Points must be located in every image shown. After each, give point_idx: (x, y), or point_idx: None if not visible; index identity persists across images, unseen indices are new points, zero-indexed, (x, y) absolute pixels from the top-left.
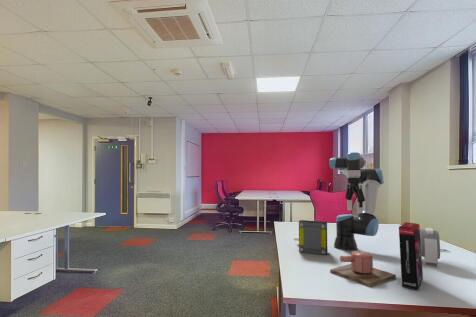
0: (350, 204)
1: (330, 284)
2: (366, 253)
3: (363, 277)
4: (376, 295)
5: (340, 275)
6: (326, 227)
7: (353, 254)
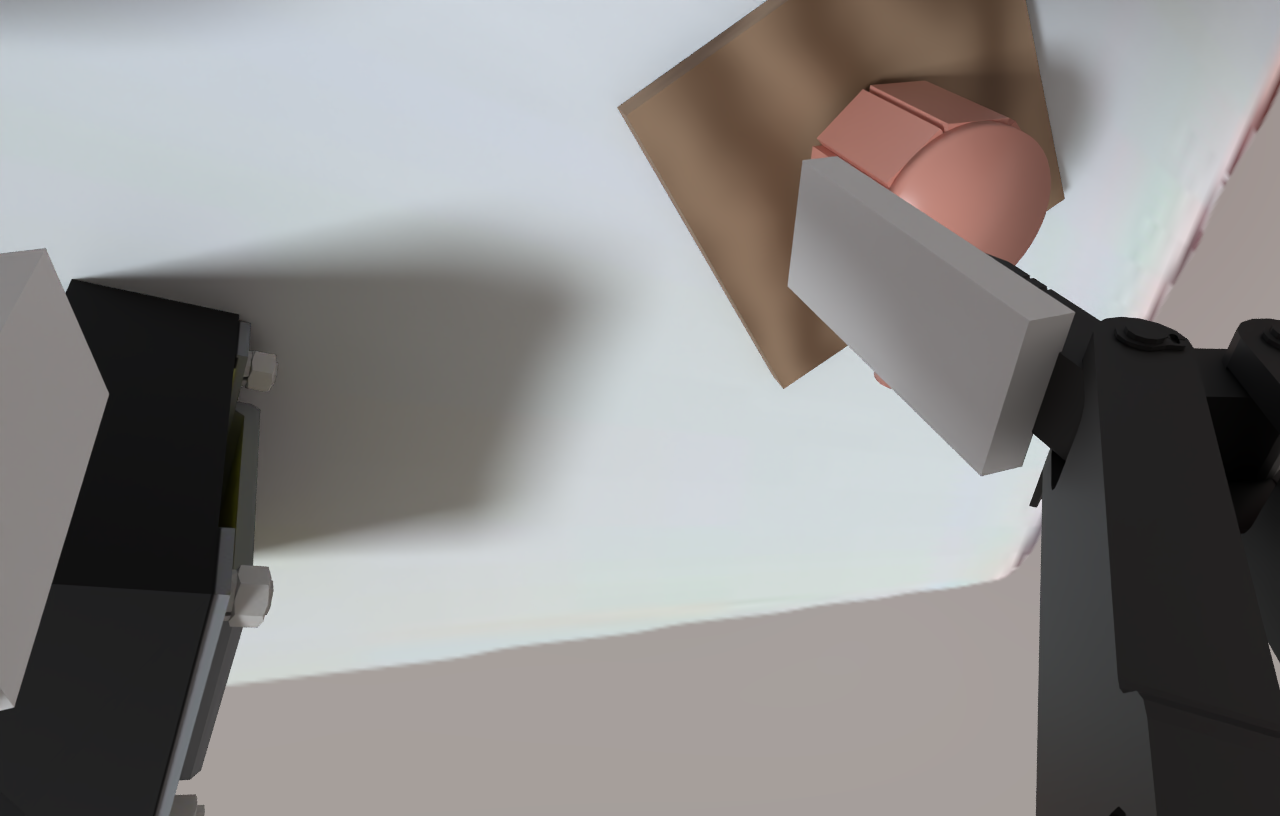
0: (13, 435)
1: None
2: (970, 165)
3: None
4: (1139, 205)
5: None
6: (150, 528)
7: None
